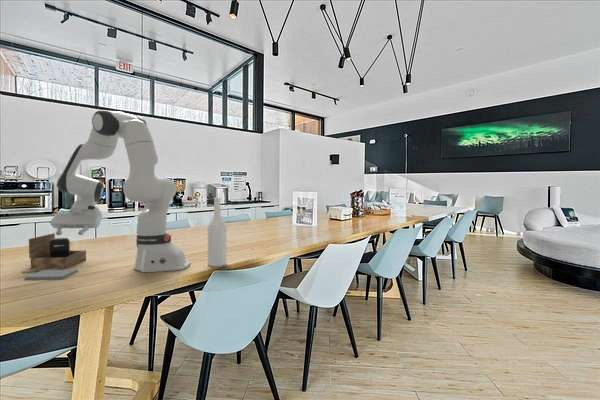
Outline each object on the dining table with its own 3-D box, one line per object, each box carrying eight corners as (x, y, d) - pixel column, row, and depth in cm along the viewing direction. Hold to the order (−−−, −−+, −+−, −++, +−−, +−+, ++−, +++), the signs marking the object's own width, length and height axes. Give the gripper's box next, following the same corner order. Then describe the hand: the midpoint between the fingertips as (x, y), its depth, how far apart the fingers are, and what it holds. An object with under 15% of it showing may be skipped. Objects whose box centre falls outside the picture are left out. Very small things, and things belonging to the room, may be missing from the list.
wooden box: (86, 259, 145) (85, 233, 144) (57, 271, 125) (57, 240, 124) (54, 260, 143) (53, 233, 143) (20, 272, 123) (19, 241, 123)
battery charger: (49, 266, 133) (48, 239, 133) (51, 264, 137) (50, 238, 136) (69, 264, 137) (68, 238, 136) (70, 262, 140) (70, 237, 140)
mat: (78, 271, 125) (77, 269, 125) (62, 278, 116) (62, 276, 116) (42, 272, 124) (42, 270, 124) (24, 279, 114) (24, 277, 114)
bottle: (212, 267, 134) (212, 198, 133) (204, 264, 140) (204, 197, 139) (229, 264, 139) (229, 197, 138) (221, 261, 145) (221, 197, 144)
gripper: (55, 206, 149) (41, 230, 140) (100, 207, 151) (90, 230, 142) (61, 215, 153) (48, 238, 144) (105, 215, 156) (95, 238, 147)
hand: (69, 234), depth 143 cm, fingers open, 8 cm apart
